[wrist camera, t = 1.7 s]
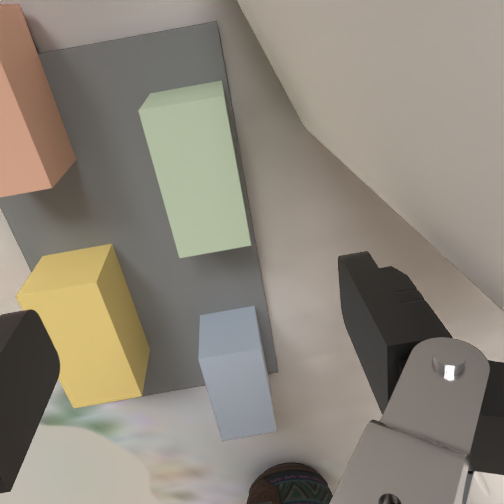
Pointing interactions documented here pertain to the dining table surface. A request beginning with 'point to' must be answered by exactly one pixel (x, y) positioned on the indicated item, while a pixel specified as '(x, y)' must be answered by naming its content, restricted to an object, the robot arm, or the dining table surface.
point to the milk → (405, 109)
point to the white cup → (487, 489)
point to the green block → (196, 168)
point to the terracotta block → (27, 114)
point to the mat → (138, 195)
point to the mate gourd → (290, 486)
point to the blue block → (236, 373)
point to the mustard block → (89, 324)
